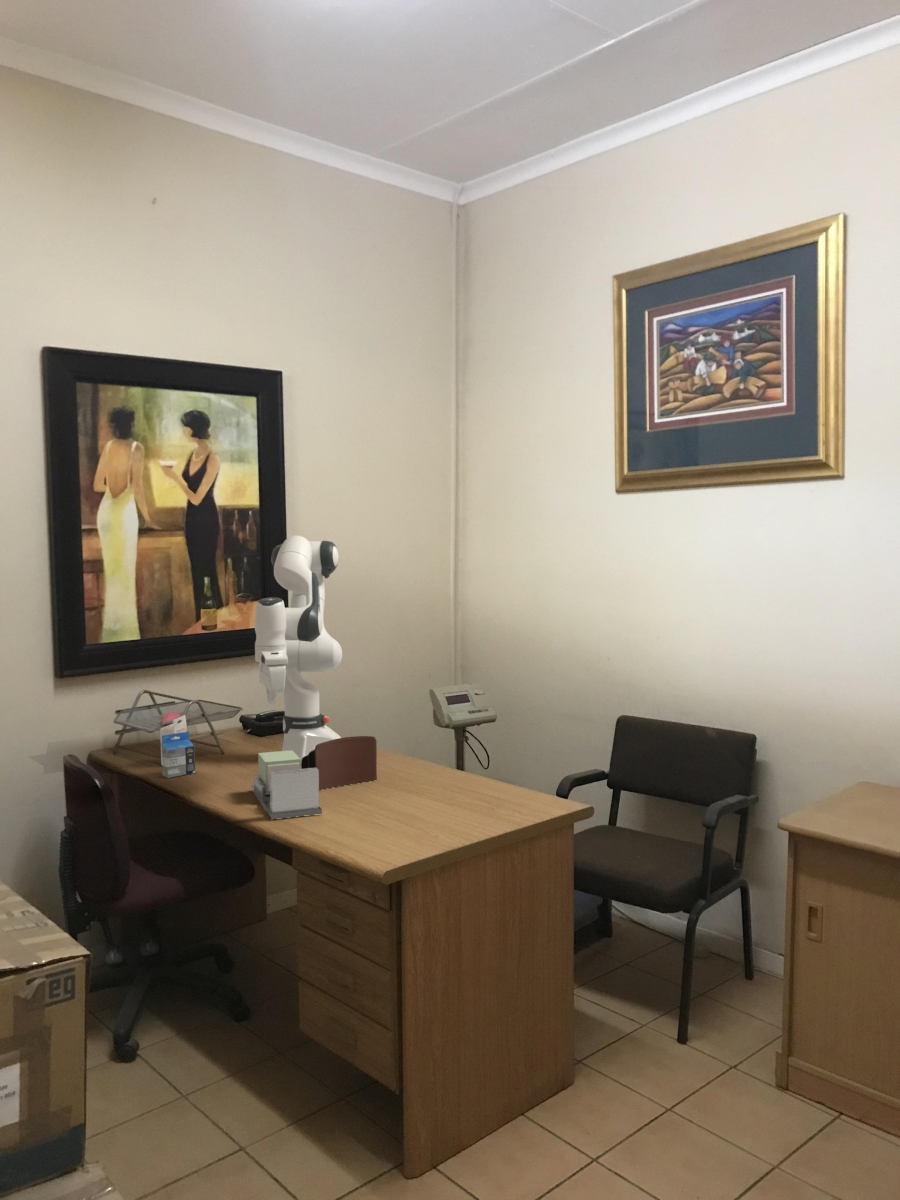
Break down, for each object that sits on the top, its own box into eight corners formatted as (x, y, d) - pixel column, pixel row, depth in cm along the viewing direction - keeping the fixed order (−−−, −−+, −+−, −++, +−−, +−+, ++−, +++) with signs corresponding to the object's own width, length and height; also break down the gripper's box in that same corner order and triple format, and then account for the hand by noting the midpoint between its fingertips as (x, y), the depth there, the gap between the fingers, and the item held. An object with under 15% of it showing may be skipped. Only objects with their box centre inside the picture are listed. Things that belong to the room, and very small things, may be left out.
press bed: (251, 790, 265) (251, 750, 264) (297, 786, 270) (297, 746, 269) (271, 820, 238) (270, 775, 237) (321, 814, 243) (321, 771, 242)
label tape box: (167, 778, 278) (167, 737, 277) (161, 775, 281) (161, 735, 280) (195, 773, 283) (194, 733, 282) (189, 770, 286) (188, 731, 286)
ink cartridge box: (173, 759, 301) (172, 713, 300) (187, 760, 300) (187, 714, 299) (160, 765, 292) (159, 719, 291) (174, 766, 291) (174, 719, 290)
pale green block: (258, 784, 265) (258, 753, 264) (292, 781, 268) (292, 750, 268) (266, 795, 254) (265, 762, 253) (301, 792, 258) (301, 759, 257)
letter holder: (377, 781, 276) (377, 733, 275) (316, 791, 265) (315, 742, 264) (360, 773, 285) (360, 727, 283) (300, 783, 273) (300, 735, 272)
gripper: (253, 651, 277) (254, 697, 278) (266, 660, 258) (266, 709, 259) (275, 650, 279) (275, 696, 280) (289, 658, 260) (289, 708, 261)
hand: (271, 702), depth 270 cm, fingers closed
